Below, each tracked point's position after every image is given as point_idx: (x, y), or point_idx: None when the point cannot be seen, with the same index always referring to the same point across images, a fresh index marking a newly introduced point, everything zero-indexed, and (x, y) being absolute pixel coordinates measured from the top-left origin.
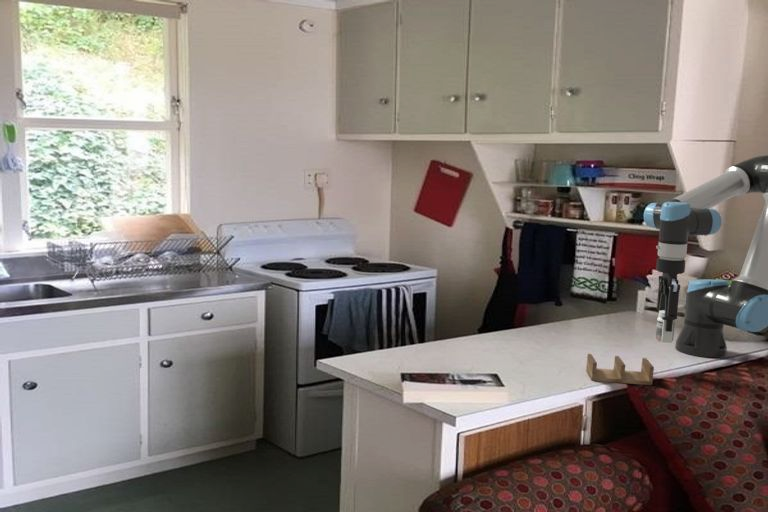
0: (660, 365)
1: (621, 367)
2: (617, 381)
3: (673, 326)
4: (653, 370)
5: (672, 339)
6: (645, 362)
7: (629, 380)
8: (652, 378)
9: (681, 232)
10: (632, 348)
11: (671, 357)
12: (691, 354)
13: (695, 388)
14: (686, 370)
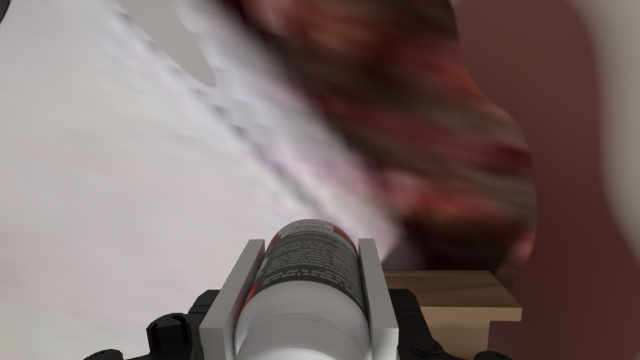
0: (221, 183)
1: None
2: None
3: (347, 277)
4: (515, 300)
5: (342, 233)
6: (438, 317)
7: (486, 342)
8: (499, 283)
9: None
10: (18, 232)
11: (83, 110)
12: (3, 11)
13: (499, 126)
14: (258, 97)
